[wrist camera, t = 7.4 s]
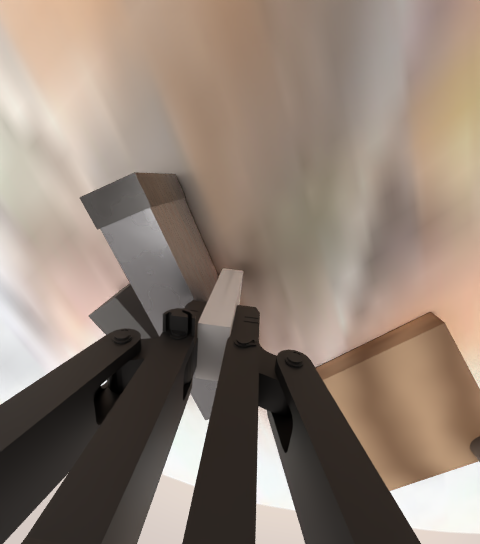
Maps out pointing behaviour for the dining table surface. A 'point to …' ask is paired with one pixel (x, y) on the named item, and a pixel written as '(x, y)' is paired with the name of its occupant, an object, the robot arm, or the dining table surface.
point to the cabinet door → (409, 401)
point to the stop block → (124, 314)
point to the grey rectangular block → (157, 250)
